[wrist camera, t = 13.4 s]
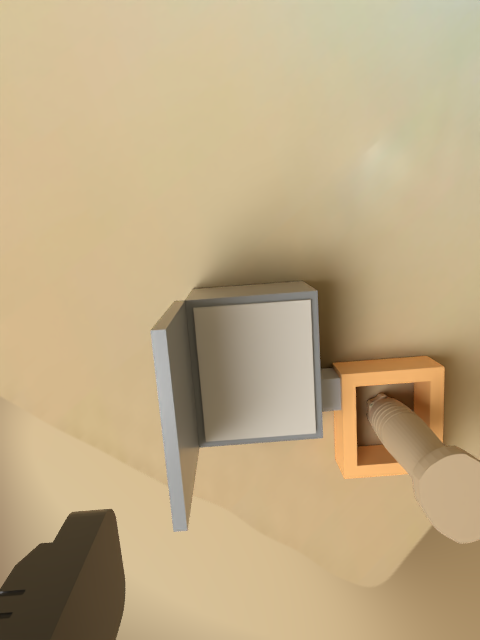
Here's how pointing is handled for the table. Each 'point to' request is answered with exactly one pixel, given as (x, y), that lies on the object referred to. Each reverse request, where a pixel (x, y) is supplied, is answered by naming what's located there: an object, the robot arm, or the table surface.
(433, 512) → the handle
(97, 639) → the robot arm
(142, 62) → the table surface
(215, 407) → the chair with orange tray
